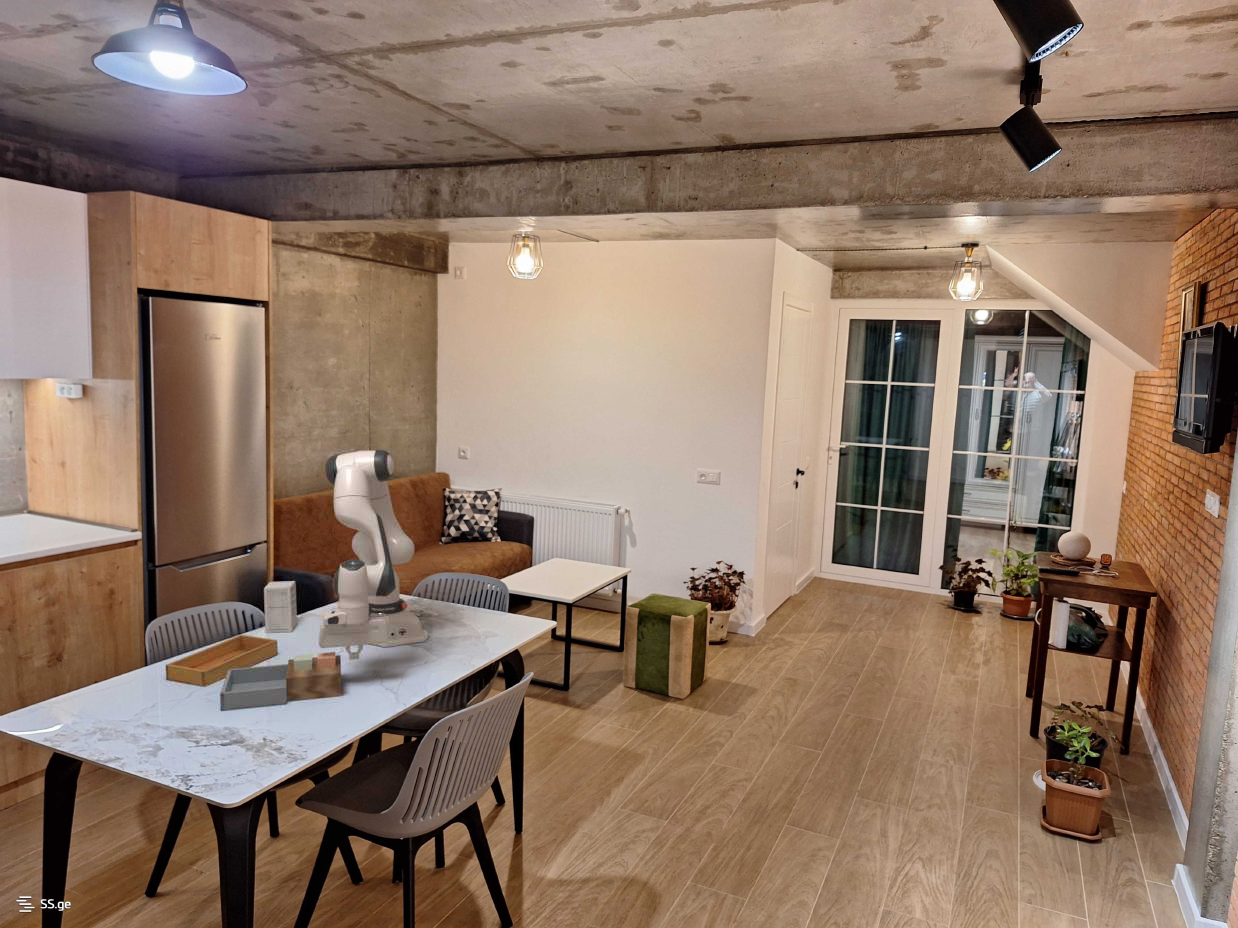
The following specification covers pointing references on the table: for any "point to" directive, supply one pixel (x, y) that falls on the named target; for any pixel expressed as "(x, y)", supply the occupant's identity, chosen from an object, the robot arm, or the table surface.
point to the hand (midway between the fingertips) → (354, 658)
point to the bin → (254, 687)
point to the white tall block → (280, 607)
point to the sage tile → (303, 662)
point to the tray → (220, 660)
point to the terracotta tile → (326, 660)
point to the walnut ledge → (313, 681)
